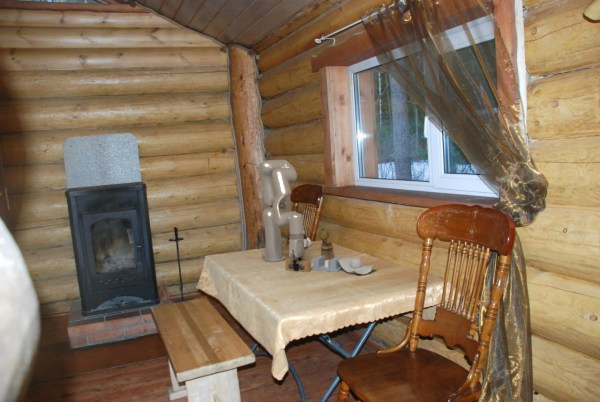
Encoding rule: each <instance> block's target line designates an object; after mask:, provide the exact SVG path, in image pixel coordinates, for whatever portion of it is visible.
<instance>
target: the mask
mask: <svg viewBox="0 0 600 402" xmlns="http://www.w3.org/2000/svg"><path fill="white" fill-rule="evenodd" d="M338 261H339V263H340V265H341V267H342V268H343V269H342V270H344V271H345V272H347V273H349V274H358V275H366V274H369V273H370V272H372V270H373V268H374V267H375V266H376V263H374V264H372V265H364V263H363V261H362V260H361V258H360V257H358V258H357V257H343V258H342V257H341V259H338Z"/></svg>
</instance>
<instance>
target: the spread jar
mask: <svg viewBox="0 0 600 402" xmlns="http://www.w3.org/2000/svg"><path fill="white" fill-rule="evenodd" d="M303 234H304V239H303V240H304V248H305V249H306V248H309V247H310V246H311V245H312V241H311V239H310V238H309V237H308V236H307V235H306V234H305V230H303Z"/></svg>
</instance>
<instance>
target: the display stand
mask: <svg viewBox="0 0 600 402" xmlns="http://www.w3.org/2000/svg"><path fill="white" fill-rule="evenodd" d="M341 258H342V257H341V256H334V258H333V259H331V260H326V261H325V256H321V255H318V256H317V257H314V258H313V266H311V271H320V272H329V271H330V272H331V273H339V272H340V271H343V270H344V269H343V268H342V267H341V265H340V263H339V261H338V259H341Z"/></svg>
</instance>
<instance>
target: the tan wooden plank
mask: <svg viewBox="0 0 600 402" xmlns="http://www.w3.org/2000/svg"><path fill="white" fill-rule="evenodd" d="M284 263H285V265H284V266H285V270H286V271H289V272H297V271H296V270H294V268H293V261H291V259H287V260H284ZM298 263H299V271H298V272H302V273H304V272H305V273H309V272H311V271H312V270H311V267H312V262H311V261H307V260H303V261H298Z"/></svg>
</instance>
